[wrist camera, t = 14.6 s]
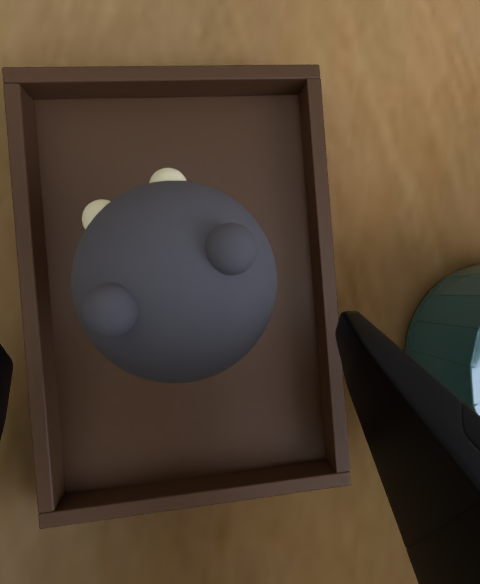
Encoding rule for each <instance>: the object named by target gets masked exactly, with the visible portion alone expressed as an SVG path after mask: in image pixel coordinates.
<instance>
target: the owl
mask: <svg viewBox="0 0 480 584" xmlns="http://www.w3.org/2000/svg"><path fill="white" fill-rule="evenodd" d="M82 223H83V226H84V228H85V232H84V233H83V235H82V237H81V239H80V241H79V244H78V246H77V249H76V252H75V256H74V260H73V264H72V273H71V291H72V298H73V304H74V307H75V311H76V314H77V317H78V319H79V322H80V324H81V326H82V328H83V330H84V332H85V333H86V335H87V336H88V338H89V339H90V341H91V342H92V344H93V345H94V346H95V347H96V348H97V349H98V351H99V352H100V353H101V354H102V355H104V356H105V357H106V358H107V359H108V360H109V361H110V362H112V363H113V364H115V365H116V366H118V367H119V368H120V369H122V370H124V371H126V372H128V373H130V374H132V375H134V376H137V377H140V378H143V379H146V380H150V381H155V382H160V383H172V384H174V383H188V382H194V381H199V380H203V379H206V378H209V377H212V376H214V375H216V374H219V373H221V372H223V371H225V370H226V369H228V368H230V367H231V366H233V365H234V364H236V363H237V362H238V361H239V360H241V359H242V358H243V357H244V356H245V355H246V354H247V353H248V352H249V351H250V350H251V349H252V348H253V347H254V346H255V344H256V343H257V342H258V340H259V339H260V337H261V336H262V334H263V332H264V331H265V329H266V327H267V325H268V323H269V320H270V318H271V315H272V312H273V309H274V304H275V300H276V292H277V271H276V265H275V259H274V256H273V252H272V249H271V246H270V244H269V242H268V239H267V237H266V235H265V233H264V232H263V230H262V228H261V227H260V225H259V224H258V222H257V221H256V220H255V219H254V217H253V216H252V215H251V214H250V213H249V212H248V211H247V210H246V209H245V208H244V207H243V206H242V205H241V204H240V203H238V202H237V201H236V200H234V199H233V198H232V197H230V196H228V195H226V194H225V193H223V192H221V191H219V190H217V189H215V188H212V187H210V186H207V185H204V184H200V183H196V182H190V181H187V180H186V178H185V177H184V175H183V174H182V173H181V172H179V171H178V170H176V169H173V168H162V169H160V170H158V171H156V172H155V173H154V174H153V175H152V177H151V179H150V182H149V183H148V184H144V185H141V186H138V187H136V188H133V189H131V190H128V191H126V192H125V193H123V194H121V195H119V196H118V197H116V198H115V199H113V200H112V201H109V200H104V199H100V200H95V201H93V202H91V203H89V204H88V205H87V206H86V207H85V209H84V211H83V214H82Z"/></svg>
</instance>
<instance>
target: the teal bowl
mask: <svg viewBox="0 0 480 584" xmlns="http://www.w3.org/2000/svg"><path fill="white" fill-rule="evenodd" d="M405 352H406V353H407V354H408V355H409V356H410V357H412V358H413V359H414V360H415V361H416V362H417V363H419V364H420V365H421V366H422V367H423V368H424V369H426V370H427V371H428V372H429V373H430V374H431V375H433V376H434V377H435V378H436V379H437V380H438V381H440V382H441V383H442V384H443V385H444V386H445V387H447V388H448V389H449V390H450V391H451V392H452V393H454V394H455V395H456V396H457V397H458V398H459V399H461V401H462V403H465V404H467V405H468V406H469V407H470V408H471V409H472V410H474V411H475V412H476V413H477V414H478V415H480V264H479V265H474V266H470V267H466V268H464V269H461V270H458V271H456V272H454V273H452V274H451V275H449V276H447V277H446V278H444V279H443V280H442V281H440V282H439V283H438V284H436V285H435V286H434V287H433V288H432V289H431V290H430V291H429V292H428V294H427V295H426V296H425V297H424V299H423V300H422V301H421V303H420V305H419V306H418V308H417V310H416V311H415V314H414V316H413V318H412V320H411V323H410V326H409V330H408V333H407V338H406V345H405Z"/></svg>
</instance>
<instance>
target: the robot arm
mask: <svg viewBox="0 0 480 584" xmlns="http://www.w3.org/2000/svg"><path fill="white" fill-rule="evenodd" d="M335 337H336V342H337V346H338V350H339V354H340V358H341V363H342V367H343V371H344V375H345V379H346V383H347V387H348V390H349V393H350V396H351V399H352V401H353V404H354V407H355V410H356V412H357V415H358V418H359V421H360V423H361V426H362V429H363V432H364V434H365V437H366V440H367V442H368V445H369V448H370V451H371V453H372V456H373V459H374V462H375V464H376V467H377V470H378V473H379V475H380V478H381V481H382V484H383V486H384V489H385V492H386V495H387V497H388V500H389V503H390V506H391V508H392V511H393V514H394V517H395V519H396V522H397V525H398V528H399V530H400V533H401V536H402V539H403V541H404V544H405V547H406V548H407V549H406V550H407V553H408V556H409V558H410V561H411V564H412V567H413V569H414V572H415V575H416V578H417V580H418V583H419V584H480V415H478V414H477V413H476V412H475V411H474V410H472V409H471V408H470V407H469V406H468V405H467V404H465V403H462V401H461V399H459V398H458V397H457V396H456V395H455V394H454V393H452V392H451V391H450V390H449V389H448V388H447V387H445V386H444V385H443V384H442V383H441V382H440V381H438V380H437V379H436V378H435V377H434V376H433V375H431V374H430V373H429V372H428V371H427V370H426V369H424V368H423V367H422V366H421V365H420V364H419V363H417V362H416V361H415V360H414V359H413V358H412V357H410V356H409V355H408V354H407V353H406V352H404V351H403V350H402V349H401V348H400V347H399V346H397V345H396V344H395V343H394V342H393V341H392V340H390V339H389V338H388V337H387V336H386V335H385V334H383V333H382V332H381V331H380V330H379V329H378V328H376V327H375V326H374V325H373V324H372V323H371V322H369V321H368V320H367V319H366V318H365V317H364V316H362V315H361V314H360V313H359V312H357V311H346V312H343V313H341V315H340V318H339V321H338V324H337V327H336V331H335ZM12 371H13V363H12V360H11V358H10V357H9V355H8V354H7V353H6V351H5V350H4V348H3V347H2V345H1V344H0V440H1V436H2V432H3V428H4V424H5V418H6V412H7V406H8V399H9V392H10V385H11V378H12Z"/></svg>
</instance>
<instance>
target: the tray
mask: <svg viewBox="0 0 480 584" xmlns="http://www.w3.org/2000/svg"><path fill="white" fill-rule="evenodd" d="M2 74H3V82H4V85H3V86H4V99H5V111H6V123H7V135H8V148H9V160H10V172H11V184H12V197H13V209H14V221H15V233H16V246H17V258H18V270H19V282H20V295H21V307H22V319H23V331H24V344H25V356H26V368H27V380H28V392H29V405H30V417H31V429H32V441H33V454H34V466H35V478H36V490H37V503H38V512H39V515H38V516H39V528H40V529H43V528H50V527H57V526H64V525H72V524H79V523H86V522H93V521H100V520H107V519H114V518H121V517H128V516H135V515H142V514H150V513H157V512H164V511H171V510H178V509H185V508H192V507H199V506H206V505H213V504H220V503H227V502H235V501H242V500H249V499H256V498H263V497H270V496H277V495H284V494H291V493H298V492H305V491H312V490H320V489H327V488H334V487H341V486H348V485H351V481H350V472H349V471H350V465H349V452H348V439H347V425H346V412H345V399H344V385H343V372H342V363H341V358H340V354H339V350H338V346H337V342H336V337H335V331H336V327H337V324H338V321H339V319H338V305H337V292H336V279H335V265H334V252H333V239H332V225H331V212H330V199H329V185H328V172H327V159H326V145H325V132H324V118H323V105H322V92H321V79H320V69H319V65H220V66H111V67H3V68H2ZM162 168H173V169H176V170H178V171H179V172H181V173H182V174H183V175H184V177H185V178H186V180H187V181H190V182H196V183H200V184H204V185H207V186H210V187H212V188H215V189H217V190H219V191H221V192H223V193H225V194H226V195H228V196H230V197H232V198H233V199H234V200H236V201H237V202H238V203H240V204H241V205H242V206H243V207H244V208H245V209H246V210H247V211H248V212H249V213H250V214H251V215H252V216H253V217H254V219H255V220H256V221H257V222H258V224H259V225H260V227H261V228H262V230H263V232H264V233H265V235H266V237H267V239H268V242H269V244H270V246H271V249H272V252H273V256H274V259H275V265H276V271H277V292H276V300H275V304H274V309H273V312H272V315H271V318H270V320H269V323H268V325H267V327H266V329H265V331H264V332H263V334H262V336H261V337H260V339H259V340H258V342H257V343H256V344H255V346H254V347H253V348H252V349H251V350H250V351H249V352H248V353H247V354H246V355H245V356H244V357H243V358H242V359H241V360H239V361H238V362H237V363H236V364H234V365H233V366H231V367H230V368H228V369H226V370H225V371H223V372H221V373H219V374H216V375H214V376H212V377H209V378H206V379H203V380H199V381H194V382H188V383H174V384H172V383H160V382H155V381H150V380H146V379H143V378H140V377H137V376H134V375H132V374H130V373H128V372H126V371H124V370H122V369H120V368H119V367H118V366H116V365H115V364H113V363H112V362H110V361H109V360H108V359H107V358H106V357H105V356H104V355H102V354H101V353H100V352H99V351H98V349H97V348H96V347H95V346H94V345H93V344H92V342H91V341H90V339H89V338H88V336H87V335H86V333H85V332H84V330H83V328H82V326H81V324H80V322H79V319H78V317H77V314H76V311H75V307H74V304H73V298H72V291H71V273H72V264H73V260H74V256H75V252H76V249H77V246H78V244H79V241H80V239H81V237H82V235H83V233H84V232H85V228H84V226H83V223H82V214H83V211H84V209H85V207H86V206H87V205H88V204H89V203H91V202H93V201H95V200H100V199H104V200H109V201H112V200H113V199H115V198H116V197H118V196H119V195H121V194H123V193H125V192H126V191H128V190H131V189H133V188H136V187H138V186H141V185H144V184H148V183H149V182H150V179H151V177H152V175H153V174H154V173H155V172H156V171H158V170H160V169H162Z"/></svg>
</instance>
